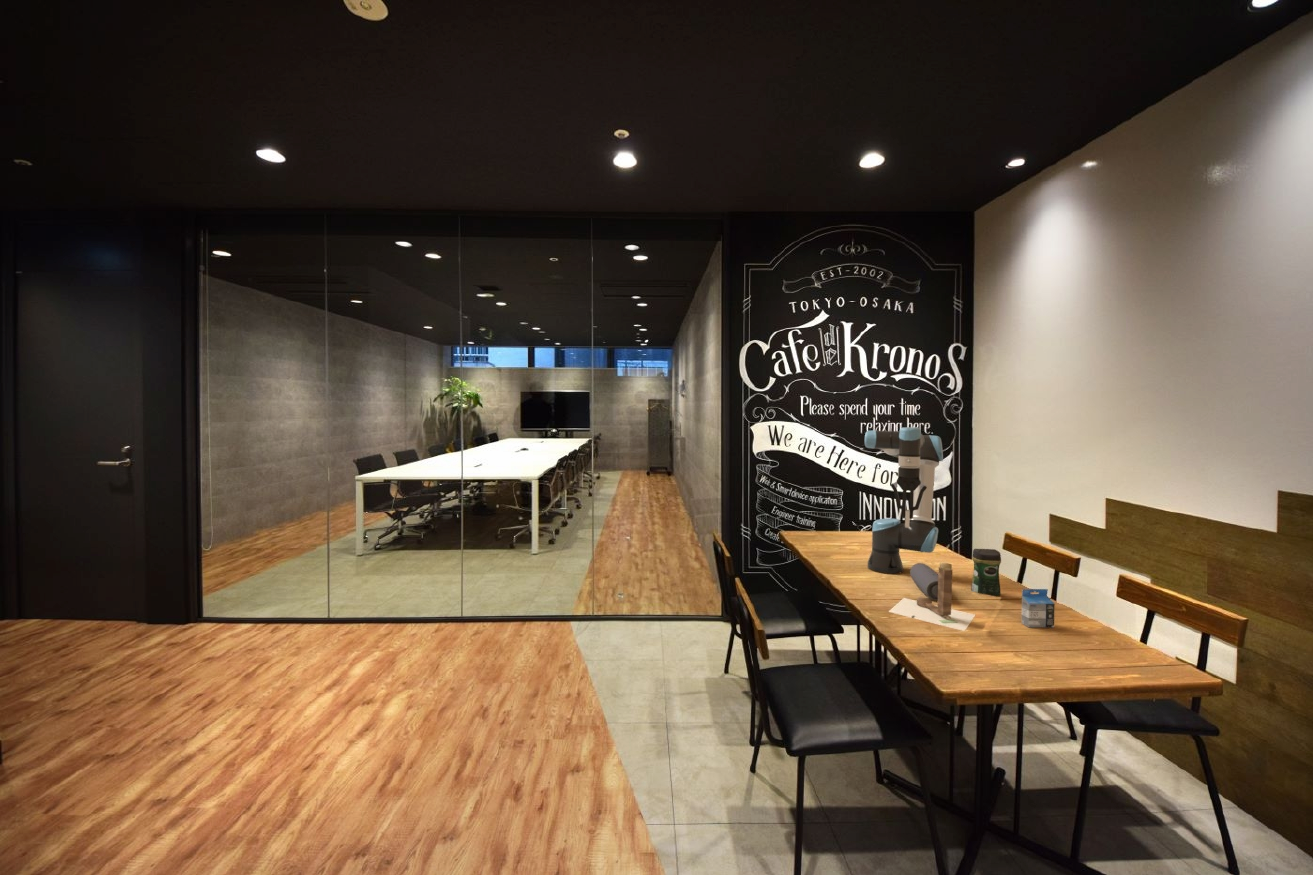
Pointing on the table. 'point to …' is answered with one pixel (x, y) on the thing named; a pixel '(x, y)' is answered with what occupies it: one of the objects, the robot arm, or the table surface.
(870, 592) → the table surface
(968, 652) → the table surface
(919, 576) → the bluetooth speaker
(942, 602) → the wooden l-shaped block
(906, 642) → the table surface
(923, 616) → the white flat sheet
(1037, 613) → the label tape box
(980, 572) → the coffee jar
